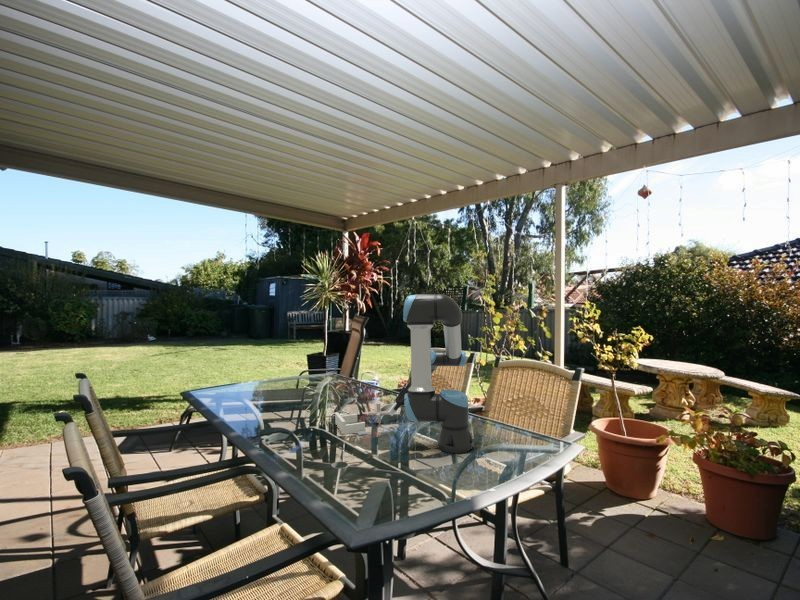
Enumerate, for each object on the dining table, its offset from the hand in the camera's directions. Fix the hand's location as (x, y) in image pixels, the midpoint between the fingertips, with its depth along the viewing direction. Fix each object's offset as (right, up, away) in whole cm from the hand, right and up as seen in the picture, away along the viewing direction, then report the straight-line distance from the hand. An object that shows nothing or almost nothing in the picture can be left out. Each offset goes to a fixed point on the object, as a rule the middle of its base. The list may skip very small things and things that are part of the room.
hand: (389, 414), depth 215 cm
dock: (-19, -4, -7) cm, 21 cm away
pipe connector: (-5, -4, -2) cm, 7 cm away
